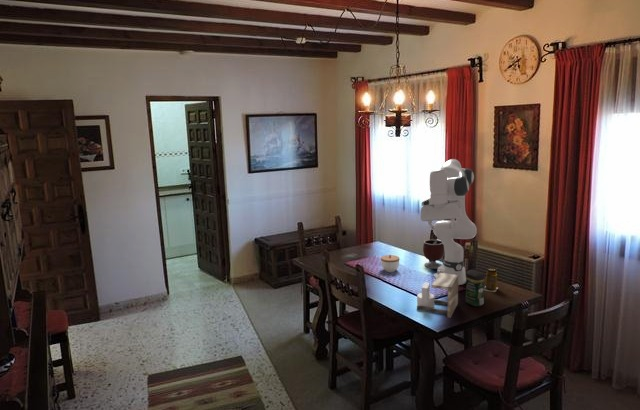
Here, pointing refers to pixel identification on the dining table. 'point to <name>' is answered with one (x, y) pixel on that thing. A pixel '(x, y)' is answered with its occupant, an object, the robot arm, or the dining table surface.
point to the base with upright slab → (425, 296)
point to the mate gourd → (433, 252)
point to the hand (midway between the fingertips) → (441, 229)
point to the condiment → (491, 280)
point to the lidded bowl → (390, 263)
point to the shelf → (451, 285)
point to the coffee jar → (474, 288)
